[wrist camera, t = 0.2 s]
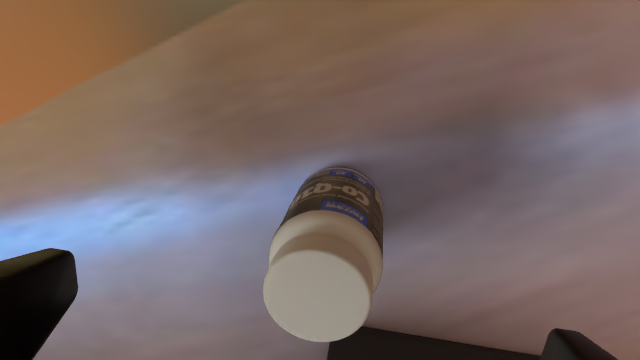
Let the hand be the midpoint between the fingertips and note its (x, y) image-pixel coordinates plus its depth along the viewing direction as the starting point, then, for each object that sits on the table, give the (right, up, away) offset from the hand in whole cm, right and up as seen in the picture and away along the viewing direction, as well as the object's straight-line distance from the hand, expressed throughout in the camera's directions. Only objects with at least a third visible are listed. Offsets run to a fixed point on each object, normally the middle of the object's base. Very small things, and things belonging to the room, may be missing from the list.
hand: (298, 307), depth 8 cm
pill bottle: (+1, +1, +15) cm, 15 cm away
